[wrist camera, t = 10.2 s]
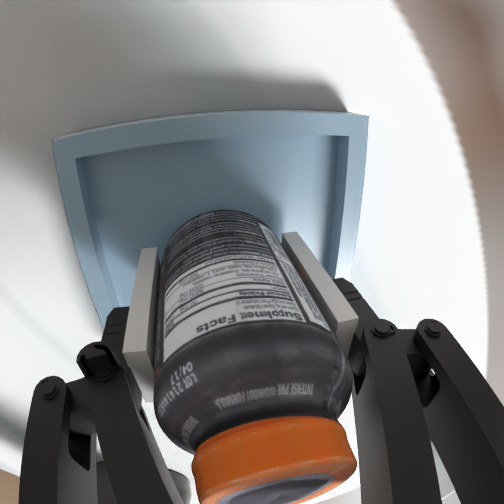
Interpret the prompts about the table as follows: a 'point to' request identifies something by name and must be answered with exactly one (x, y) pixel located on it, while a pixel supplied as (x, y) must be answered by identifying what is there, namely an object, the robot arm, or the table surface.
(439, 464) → the skincare box
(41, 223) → the table surface
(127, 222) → the tray
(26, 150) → the table surface
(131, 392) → the robot arm
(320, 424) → the pill bottle
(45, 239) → the table surface
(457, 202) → the table surface
